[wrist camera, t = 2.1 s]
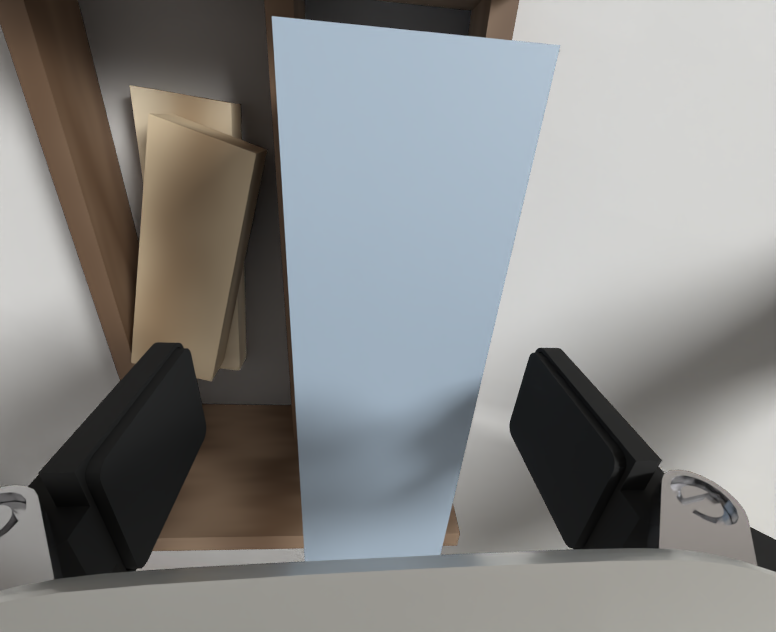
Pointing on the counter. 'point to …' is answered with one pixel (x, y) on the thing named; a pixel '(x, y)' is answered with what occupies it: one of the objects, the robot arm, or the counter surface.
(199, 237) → the offcut top
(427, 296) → the blue-grey rectangular block
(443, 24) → the counter surface
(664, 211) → the counter surface
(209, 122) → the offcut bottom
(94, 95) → the rack
